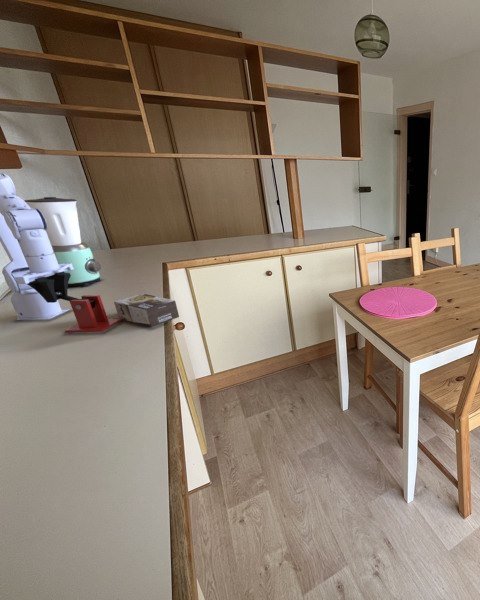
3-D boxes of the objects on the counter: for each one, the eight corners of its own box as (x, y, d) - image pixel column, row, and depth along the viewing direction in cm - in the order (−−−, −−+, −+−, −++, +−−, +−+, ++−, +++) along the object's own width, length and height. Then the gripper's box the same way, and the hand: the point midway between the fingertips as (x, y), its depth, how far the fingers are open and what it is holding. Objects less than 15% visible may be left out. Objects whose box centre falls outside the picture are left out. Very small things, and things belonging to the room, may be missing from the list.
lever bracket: (66, 334, 91) (53, 303, 88) (88, 322, 99) (77, 293, 95) (103, 333, 92) (92, 302, 89) (122, 321, 100) (113, 293, 96)
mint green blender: (113, 278, 140) (87, 196, 128) (93, 287, 128) (62, 198, 115) (63, 280, 136) (30, 196, 124) (37, 290, 124) (-2, 198, 111)
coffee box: (119, 319, 101) (150, 329, 95) (113, 301, 99) (145, 309, 93) (149, 310, 109) (180, 318, 103) (144, 292, 107) (176, 300, 101)
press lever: (44, 299, 89) (44, 290, 89) (54, 295, 92) (54, 286, 91) (87, 311, 92) (88, 302, 91) (95, 307, 95) (96, 298, 94)
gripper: (29, 260, 80) (49, 309, 85) (77, 249, 94) (92, 291, 98) (-2, 260, 79) (20, 309, 84) (51, 248, 93) (68, 291, 98)
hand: (57, 300), depth 91 cm, fingers closed on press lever, 3 cm apart
